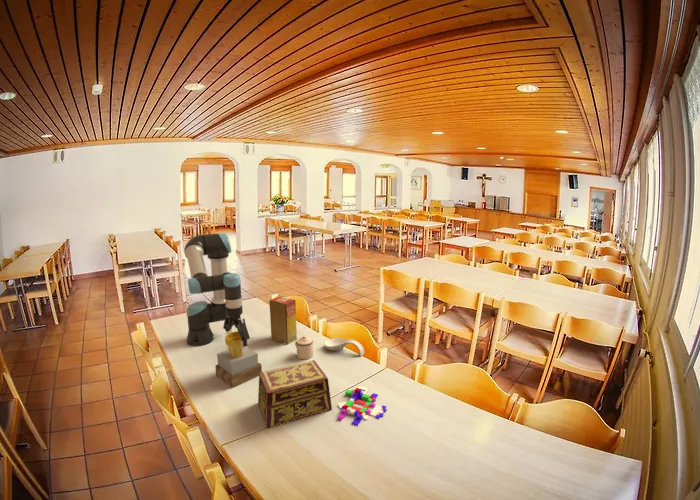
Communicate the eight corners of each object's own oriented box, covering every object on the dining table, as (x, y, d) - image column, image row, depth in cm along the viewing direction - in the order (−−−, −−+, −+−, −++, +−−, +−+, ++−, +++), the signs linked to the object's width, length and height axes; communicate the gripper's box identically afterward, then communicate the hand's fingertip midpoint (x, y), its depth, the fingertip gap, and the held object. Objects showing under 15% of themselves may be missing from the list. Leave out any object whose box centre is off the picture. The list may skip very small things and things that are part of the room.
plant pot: (252, 350, 184) (251, 332, 182) (240, 361, 175) (239, 342, 172) (234, 347, 187) (233, 329, 185) (221, 357, 178) (220, 338, 175)
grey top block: (218, 365, 183) (217, 353, 181) (243, 355, 193) (242, 344, 191) (232, 375, 173) (231, 363, 172) (258, 364, 183) (257, 353, 182)
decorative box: (267, 429, 145) (264, 395, 142) (257, 403, 162) (255, 372, 159) (332, 410, 156) (331, 378, 153) (317, 387, 173) (316, 358, 170)
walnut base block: (216, 376, 184) (215, 365, 183) (245, 364, 195) (244, 353, 194) (232, 388, 173) (231, 377, 172) (262, 375, 184) (261, 364, 183)
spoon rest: (320, 350, 209) (320, 338, 207) (331, 342, 219) (331, 330, 217) (358, 360, 198) (358, 347, 196) (367, 350, 208) (367, 338, 207)
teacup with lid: (317, 355, 203) (316, 335, 200) (304, 361, 196) (303, 341, 194) (302, 348, 210) (301, 329, 208) (289, 354, 204) (288, 335, 201)
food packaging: (297, 338, 223) (296, 299, 218) (287, 344, 216) (285, 304, 210) (281, 333, 230) (279, 295, 225) (270, 339, 223) (268, 300, 217)
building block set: (374, 432, 143) (374, 422, 142) (327, 417, 152) (327, 408, 151) (395, 397, 165) (395, 388, 164) (353, 386, 174) (353, 377, 173)
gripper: (213, 302, 181) (217, 342, 186) (240, 315, 164) (244, 358, 169) (227, 298, 187) (231, 337, 191) (255, 310, 170) (258, 353, 174)
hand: (237, 347), depth 180 cm, fingers open, 13 cm apart
